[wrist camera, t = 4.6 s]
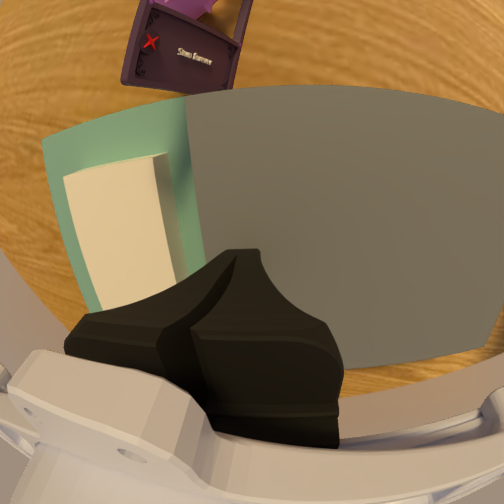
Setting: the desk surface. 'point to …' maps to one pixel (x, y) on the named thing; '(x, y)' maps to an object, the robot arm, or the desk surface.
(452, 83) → the desk surface
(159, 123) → the mat
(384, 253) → the plate
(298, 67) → the desk surface
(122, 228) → the beige rectangular block
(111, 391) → the robot arm
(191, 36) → the game card
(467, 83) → the desk surface
